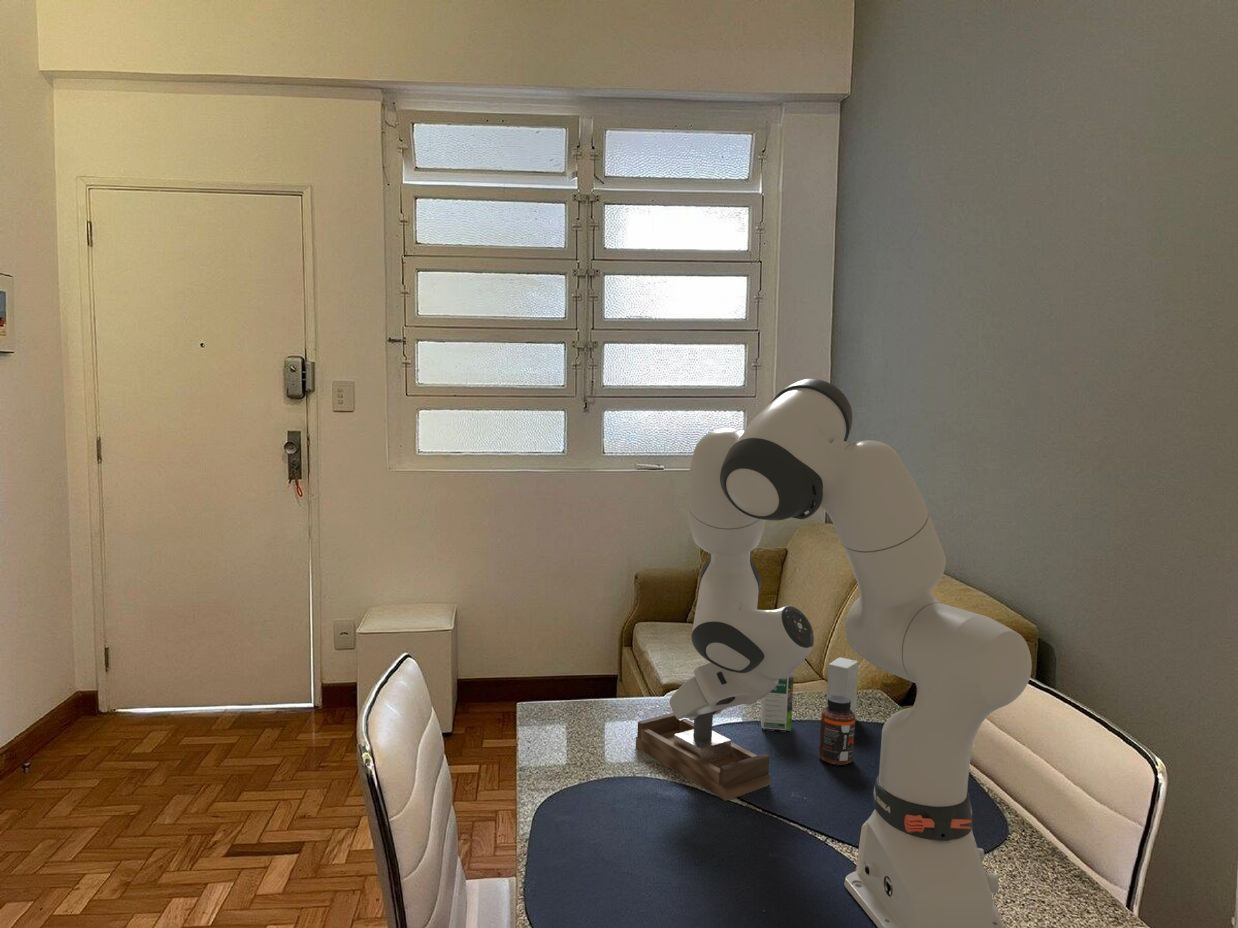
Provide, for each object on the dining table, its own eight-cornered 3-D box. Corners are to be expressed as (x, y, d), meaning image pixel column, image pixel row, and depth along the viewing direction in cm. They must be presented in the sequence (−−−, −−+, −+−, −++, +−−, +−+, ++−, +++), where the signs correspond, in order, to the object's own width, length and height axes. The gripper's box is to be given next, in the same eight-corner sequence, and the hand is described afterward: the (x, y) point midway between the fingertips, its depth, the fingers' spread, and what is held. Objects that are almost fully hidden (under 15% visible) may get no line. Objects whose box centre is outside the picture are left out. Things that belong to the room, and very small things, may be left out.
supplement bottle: (853, 768, 151) (857, 706, 150) (819, 764, 152) (822, 702, 151) (851, 754, 157) (855, 694, 156) (818, 751, 158) (821, 691, 157)
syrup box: (761, 730, 167) (765, 657, 166) (759, 718, 173) (763, 648, 172) (791, 732, 166) (795, 659, 165) (788, 721, 172) (792, 650, 171)
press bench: (770, 785, 144) (771, 756, 143) (724, 800, 138) (726, 770, 137) (678, 735, 163) (679, 709, 163) (635, 747, 157) (636, 720, 157)
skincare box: (835, 712, 178) (839, 656, 176) (855, 718, 175) (859, 660, 174) (824, 721, 173) (827, 663, 172) (844, 727, 170) (848, 668, 169)
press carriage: (730, 756, 149) (733, 689, 148) (699, 765, 145) (703, 696, 144) (703, 742, 155) (706, 677, 154) (673, 750, 151) (676, 684, 150)
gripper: (779, 648, 149) (737, 686, 157) (689, 667, 137) (649, 707, 145) (797, 681, 145) (753, 718, 154) (706, 704, 133) (664, 742, 142)
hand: (701, 713), depth 150 cm, fingers open, 3 cm apart
